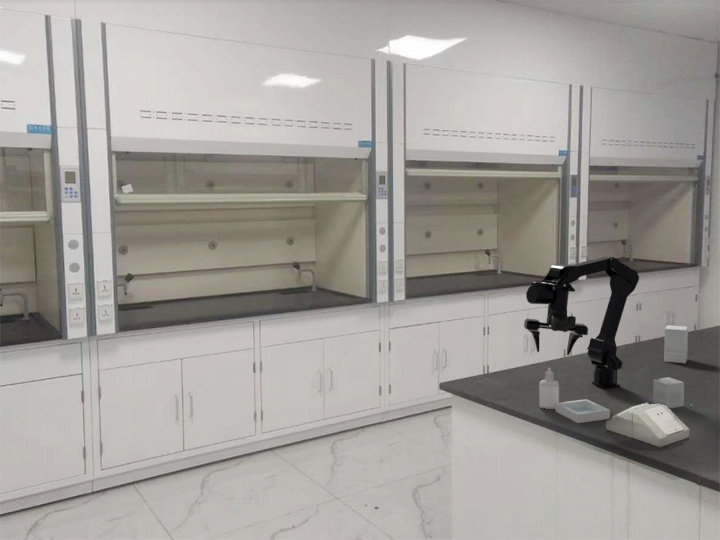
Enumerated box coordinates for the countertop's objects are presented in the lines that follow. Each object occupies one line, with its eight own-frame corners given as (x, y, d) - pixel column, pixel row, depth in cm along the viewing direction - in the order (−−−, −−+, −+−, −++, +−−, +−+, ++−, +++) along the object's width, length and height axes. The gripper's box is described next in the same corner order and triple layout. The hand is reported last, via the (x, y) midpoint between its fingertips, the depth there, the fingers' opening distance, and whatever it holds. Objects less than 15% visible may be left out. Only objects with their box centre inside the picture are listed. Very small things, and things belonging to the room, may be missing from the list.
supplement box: (687, 359, 239) (688, 326, 238) (685, 363, 233) (686, 330, 231) (666, 357, 243) (667, 324, 242) (663, 361, 237) (664, 328, 235)
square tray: (586, 407, 188) (586, 399, 188) (609, 418, 178) (610, 410, 178) (555, 411, 185) (555, 403, 185) (577, 423, 175) (577, 414, 175)
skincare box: (684, 406, 186) (685, 382, 186) (667, 409, 185) (668, 384, 184) (668, 400, 192) (669, 376, 191) (652, 402, 191) (652, 378, 190)
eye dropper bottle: (554, 411, 185) (554, 371, 184) (536, 407, 189) (536, 367, 188) (561, 407, 188) (561, 368, 187) (543, 403, 192) (544, 365, 191)
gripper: (531, 305, 193) (526, 355, 194) (594, 310, 191) (589, 362, 192) (526, 301, 204) (521, 348, 205) (586, 306, 202) (580, 354, 203)
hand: (552, 353), depth 201 cm, fingers open, 9 cm apart
